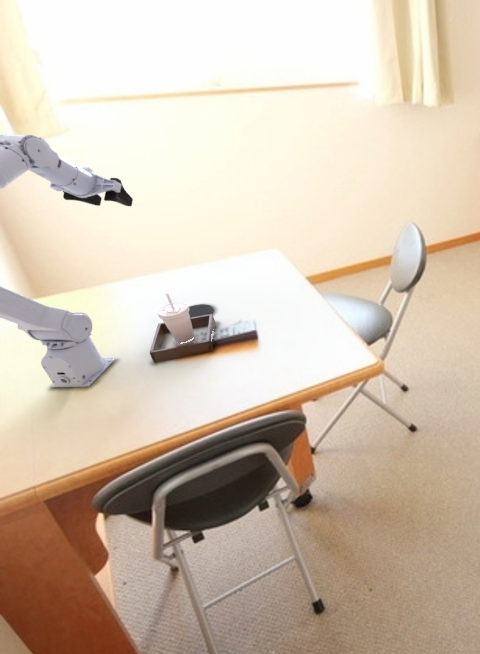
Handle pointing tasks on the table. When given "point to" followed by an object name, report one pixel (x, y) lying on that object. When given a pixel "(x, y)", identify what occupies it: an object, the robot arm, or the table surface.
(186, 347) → the box
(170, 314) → the smoothie
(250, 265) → the table surface
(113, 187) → the robot arm
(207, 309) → the coaster
